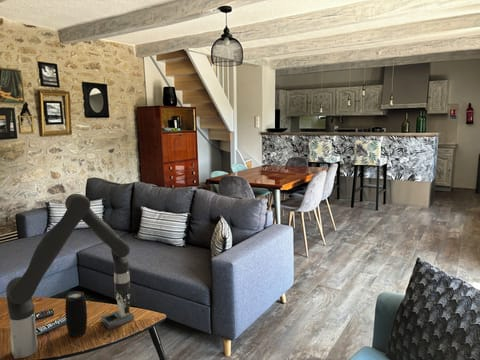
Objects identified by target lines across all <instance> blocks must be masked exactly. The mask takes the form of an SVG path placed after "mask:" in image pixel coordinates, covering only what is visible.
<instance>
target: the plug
mask: <svg viewBox="0 0 480 360" xmlns="http://www.w3.org/2000/svg"><path fill="white" fill-rule="evenodd" d="M117 302H118V307H117V311H118V315H119V316H120V317H121V318H122V317H124V316H127V315H129V313H127V314H125V309H124V307H125V306H124V303H122V300H121V299H119V300H116V303H117ZM125 303H126V302H125Z"/></svg>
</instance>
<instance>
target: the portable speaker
mask: <svg viewBox="0 0 480 360" xmlns="http://www.w3.org/2000/svg"><path fill="white" fill-rule="evenodd" d="M64 309H65V310H64V311H65V324H66V330H67V333H68V336H73V337H75V338H79V337H82V336H83V335H84V334H85V332H86V331H87V328H88V327H87V326H88V324H87V323H88V313H87V312H88V311H87V301H86V297H85V293H84V291H76V290H75V291H74V290H73V291H71V292H68V293H67V295H66V297H65V308H64Z"/></svg>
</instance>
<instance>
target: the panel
mask: <svg viewBox="0 0 480 360" xmlns="http://www.w3.org/2000/svg"><path fill="white" fill-rule="evenodd" d="M133 321H135V314H133V313H131V312H130V311H129V315H127V316H124V317H122V318H121V317H120V316H119V315H118V310H116V311H114V312H110V313H108V314H104V315H102V316H100V322H101V323H102V324H103V325H104V326H105V327H106V328H107V329H109V330H112V329H114V328H116V327H119V326H122V325H125V324H127V323H129V322H133Z"/></svg>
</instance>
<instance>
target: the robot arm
mask: <svg viewBox="0 0 480 360" xmlns="http://www.w3.org/2000/svg"><path fill="white" fill-rule="evenodd" d="M64 204H65V205H64V206H65V208H66V211H65V212H64V214H63V216H62V217H61V218H60V220H59V221H58V222H57V223H56V224H55V225H53V227H52V228H50V229H49V230H48V231H47V232H46V233H45V234H44V235H43V237H42V238H41V239H40V241H39V243H38V244H37V246H36V247H35V250H34V251H33V254H32V255H31V256H32V257H31V259H30V263H29V265H28V266H27V269H26V271H25V272H24V273H23V275H22V276H17V277H14V278H12V279H11V280H9V282H8V283H7V285H6V289H5V291H6V293H5V294H6V302H7V303H6V304H7V309H8V310H7V311H8V315H9V323H10V324H9V325H10V333H9V335H10V337H9V338H10V349H11V355H12V356H13V359H14V360H16V359H23V358H24V359H25V358H27V357H30V356H32V355H34V354H35V353H36V352H37V351H38V339H37V328H36V327H37V326H36V313H35V305H34V302H33V296H34V295H35V293H36V291H37V288H38V287H39V284H40V282H41V281H42V279H43V278H44V276H45V274H46V273H47V271H48V270H49V269H50V267H51V266H52V264H53V263H54V261H55V259H56V258H57V257H58V255H59V254H60V253H61V251H62V249H63V248H64V246H65V244H66V243H67V241H68V240H69V238H70V237H71V235H72V234H73V232H74V230H75V228H77V226H78V225H79V224H80V222H81V221H82V222H83V223H85V225H86V226H87V227H88V228H90V229H91V230H92V232H93V233H94V234H95V235H96V236H97V237H98V238H99V239H100V240H101V241H102V242H103V243H104V244H105V245H107V246H108V247H109V249H111V256H112V261H113V271H114V272H113V282H114V284H113V285H114V299H115V300H116V305H117V308H118V302H117V300H119V299H121V300H122V303H124V306H125V307H124V309H125V314H127V313H129V312H130V307H131V306H132V293H129V292H128V290H129V289H130V288H131V278H130V267H129V265H130V264H129V261H128V259H127V256H128V255H129V254H130V252H131V250H130V249H131V248H130V245H129V244H128V243H127V242H126V241H124V240H123V238H121V237H120V236H119V235H118V234H117V233H116V231H115V230H114V229H113V228H112V227H111V226H110V225H109V224H108V223H106V222H105V221H104V220H103V219H102V218H101V217H99V215H98V214H96V213H95V212H94V211H93V209H92V208H91V201H90V199H89V198H88V197H87V196H86V195H83V194H80V193H72V194H70V195H68V196H67V197H66V199H65V202H64ZM125 302H126V303H125Z"/></svg>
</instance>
